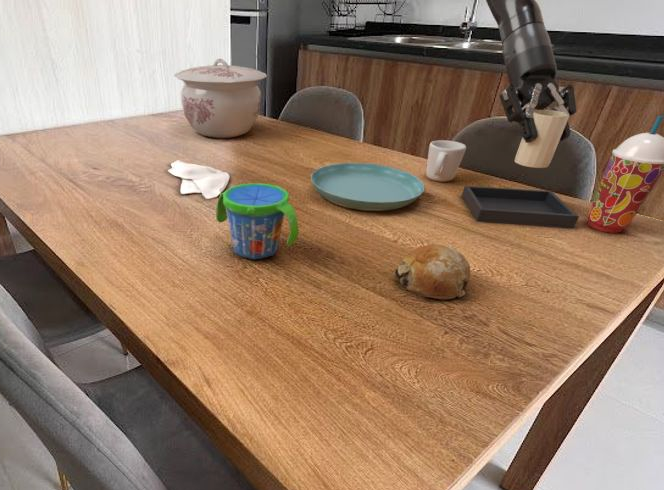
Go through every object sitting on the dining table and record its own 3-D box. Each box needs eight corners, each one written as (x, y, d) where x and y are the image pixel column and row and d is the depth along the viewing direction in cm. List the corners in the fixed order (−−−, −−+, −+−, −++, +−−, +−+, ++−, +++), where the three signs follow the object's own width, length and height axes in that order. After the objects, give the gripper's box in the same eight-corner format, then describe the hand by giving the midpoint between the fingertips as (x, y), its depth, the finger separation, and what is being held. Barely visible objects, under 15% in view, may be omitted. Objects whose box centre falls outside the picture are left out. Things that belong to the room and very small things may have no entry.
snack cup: (201, 245, 79) (199, 189, 73) (244, 227, 85) (244, 174, 79) (267, 278, 70) (270, 217, 64) (309, 256, 76) (315, 198, 70)
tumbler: (542, 159, 89) (561, 110, 83) (554, 168, 84) (575, 117, 79) (510, 157, 90) (527, 108, 84) (519, 166, 85) (538, 115, 79)
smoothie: (580, 214, 91) (630, 108, 80) (630, 224, 88) (690, 115, 76) (577, 229, 86) (631, 117, 74) (630, 240, 82) (696, 124, 70)
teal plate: (315, 215, 90) (316, 199, 88) (305, 175, 110) (306, 161, 108) (436, 217, 90) (440, 201, 88) (404, 177, 109) (407, 163, 107)
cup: (450, 190, 102) (460, 154, 98) (415, 183, 106) (423, 148, 101) (459, 177, 110) (469, 143, 105) (426, 171, 113) (434, 138, 109)
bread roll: (439, 325, 66) (480, 290, 61) (383, 283, 67) (417, 245, 62) (450, 294, 73) (487, 259, 68) (398, 256, 74) (431, 220, 69)
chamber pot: (255, 147, 129) (256, 65, 117) (165, 141, 134) (158, 62, 122) (272, 125, 151) (275, 54, 139) (195, 120, 156) (191, 51, 144)
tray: (546, 202, 97) (551, 190, 95) (573, 228, 86) (579, 216, 85) (461, 196, 99) (464, 185, 98) (476, 221, 88) (480, 209, 87)
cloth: (244, 195, 99) (244, 185, 97) (182, 201, 95) (181, 191, 94) (215, 160, 119) (215, 152, 117) (164, 165, 116) (163, 156, 114)
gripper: (508, 43, 80) (528, 129, 78) (578, 43, 83) (600, 126, 80) (481, 72, 88) (498, 152, 85) (545, 71, 90) (565, 149, 87)
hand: (547, 139), depth 83 cm, fingers closed on tumbler, 6 cm apart
